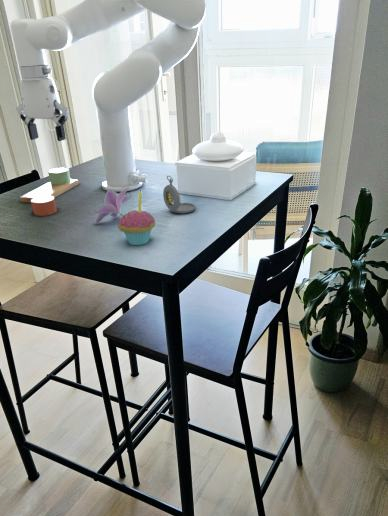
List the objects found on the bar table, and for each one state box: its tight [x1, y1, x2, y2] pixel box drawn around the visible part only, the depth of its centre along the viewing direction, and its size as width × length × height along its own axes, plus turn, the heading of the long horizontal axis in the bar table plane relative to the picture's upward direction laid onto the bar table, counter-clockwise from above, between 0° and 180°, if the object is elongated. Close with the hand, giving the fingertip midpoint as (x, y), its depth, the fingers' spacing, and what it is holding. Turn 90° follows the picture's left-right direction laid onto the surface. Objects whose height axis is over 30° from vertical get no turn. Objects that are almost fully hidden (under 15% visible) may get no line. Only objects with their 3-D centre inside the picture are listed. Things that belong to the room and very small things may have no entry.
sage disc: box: [47, 167, 72, 185], centre depth 152 cm, size 6×6×4 cm
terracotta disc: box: [30, 196, 58, 217], centre depth 133 cm, size 6×6×4 cm
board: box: [19, 178, 80, 204], centre depth 148 cm, size 8×20×2 cm, turn 161°
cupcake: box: [118, 188, 156, 246], centre depth 110 cm, size 9×8×12 cm
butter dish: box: [174, 131, 257, 201], centre depth 141 cm, size 18×18×16 cm
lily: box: [94, 187, 132, 225], centre depth 122 cm, size 12×12×10 cm
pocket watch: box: [162, 175, 196, 214], centre depth 127 cm, size 8×8×10 cm
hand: (48, 139), depth 141 cm, fingers open, 9 cm apart
